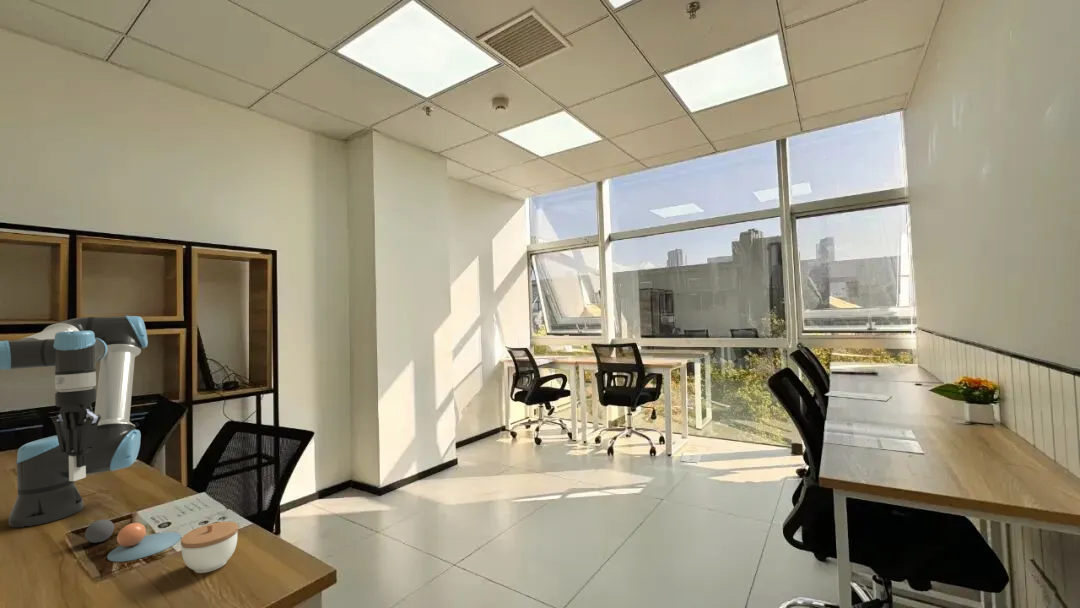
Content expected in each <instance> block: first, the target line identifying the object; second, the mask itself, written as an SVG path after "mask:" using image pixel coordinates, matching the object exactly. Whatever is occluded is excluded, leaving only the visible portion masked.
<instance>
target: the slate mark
mask: <svg viewBox="0 0 1080 608" xmlns="http://www.w3.org/2000/svg"><path fill="white" fill-rule="evenodd" d="M181 539H182V536H181V534H180V533H178V532H173V531H171V532H169V531H167V532H166V531H165V532H157V533H152V534H148V535H145V537H144V538H143V540H142V541H141V542H140V543H138V544H137V545H135V546H132V547H123V546H121V545H118V546H117V547H115V548H113V549H112V550H111V551H110V552H109V553H108V554H107V555H106V556H107V557H106V558H107V560H108V561H110V562H117V563H118V562H119V563H122V562H130V561H134V560H135V561H136V560H139V559H144V558H146V557H151V556H153V555H156V554H158V553H161V552H163V551H165V550H167V549H169V548H171V547H172V546H174V545H176V544H177V543H178V542H180V541H181Z"/></svg>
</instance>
